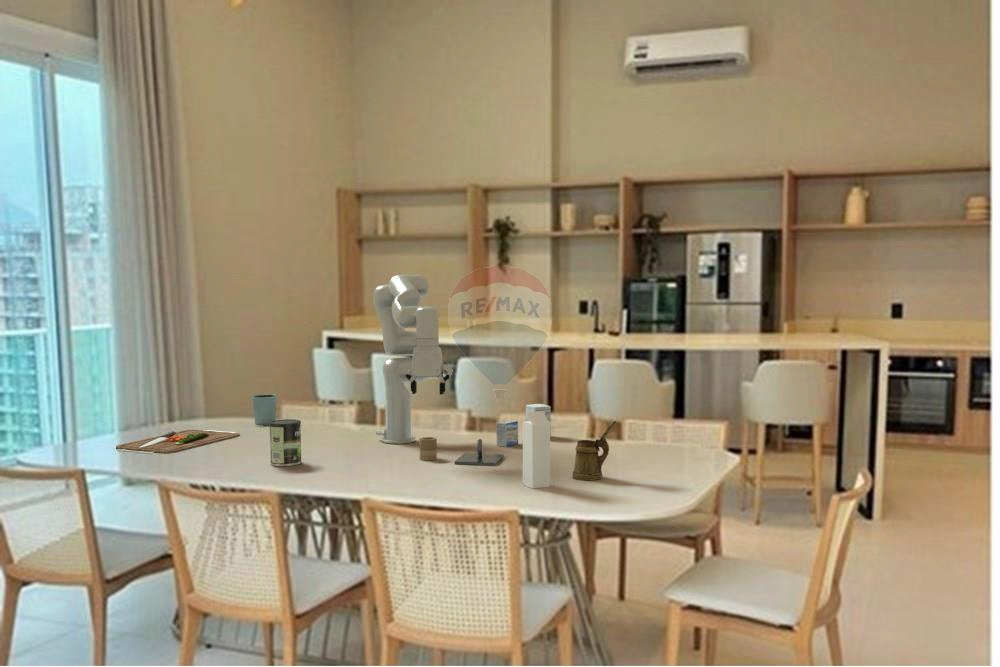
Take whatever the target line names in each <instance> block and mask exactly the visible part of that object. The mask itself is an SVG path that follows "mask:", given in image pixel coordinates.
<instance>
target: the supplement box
mask: <svg viewBox="0 0 1000 667" xmlns="http://www.w3.org/2000/svg"><path fill="white" fill-rule="evenodd" d="M551 408H552V407H551V406H550V405H547V404H543V403H535V404H534V403H533V404H526V405H525V419H526V418H527V413H528V412H538V411H545V417H546V418H547V419H548V421H549V422H550V439H551V429H552V428H551V425H552V424H551V423H552V422H551V416H552V415H551V411H552V410H551Z"/></svg>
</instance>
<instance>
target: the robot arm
mask: <svg viewBox="0 0 1000 667" xmlns="http://www.w3.org/2000/svg"><path fill="white" fill-rule="evenodd" d="M429 288H430V286H429V280H428V279H427V278H426V277H425V276H424V275H422V274H397V275H396V274H395V276H393V277H391V279H390V280H389V283H388V284H382V285H379V286H377V287H376V288H374V290H373V291H374V292H373V305H374V308H375V311H376V314H377V316H378V318H379V321H380V325H381V326H380V327H381V334H382V335H381V336H382V342H383V348H384V352H385V353H386V355H388V356H392V357H393V358H389V359H387V360H386V361H385V362H384V364H383V365H382V374H383V380H384V387H385V390H384V391H385V392H384V394H385V429H376V430H375V435H376V436H383V437H382V438H381V441H382V443H384V444H390V445H391V444H393V445H397V444H398V445H402V444H409V443H414V442H416V437H415V436H412V395H416V393H417V387H418V386H417V383H423V382H426V381H428V379H429V378H437V379H438V380H439V381H440V382H439V395H444V394H445V392H446V382H447V381H448V380H449V379H450V378H451V377H452V376H451V375H452V374H453V372H454V369H452V368H451V367H449V366H447V365H446V364H444V362H443V354H442V348H441V347H440V346H439V341H440V340H439V336H440V335H439V331H440V330H439V310H438V308H437V307H434V306H429V305H419V304H420V303H421V302H422V301H423V300H424V299H425V298H426V297H427V295H428V293H429V291H430V290H429ZM412 328H413V329H416V330H406V329H412ZM400 356H401V357H400ZM402 356H412V357H402ZM395 357H396V358H395ZM444 370H445V371H446V372H447V373H446V374H445V376H444V375H443V374H444ZM405 384H410V390H409V389H408V388H407V386H406V385H405ZM410 391H411V392H410ZM411 394H412V395H411Z"/></svg>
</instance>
